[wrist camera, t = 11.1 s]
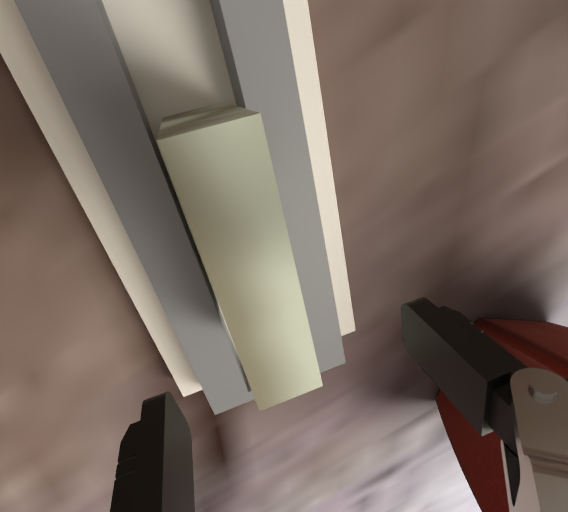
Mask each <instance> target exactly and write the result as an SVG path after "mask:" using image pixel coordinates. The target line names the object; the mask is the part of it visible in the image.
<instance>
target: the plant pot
mask: <svg viewBox="0 0 568 512" xmlns="http://www.w3.org/2000/svg"><path fill="white" fill-rule="evenodd" d="M474 325H476V326H477V327H478V328H480V329H481V330H482V331H483V333H484V334H485V333H486V334H487V335H488V336H490V337H491V338H492V339H493V340H495V341H496V342H497V343H498V344H499V345H501V346H502V347H503V348H504V349H506V350H507V351H508V352H509V353H511V354H512V355H513V356H514V357H516V358H517V359H518V360H519V361H521V362H522V363H523V364H524V365H526V366H527V367H528V368H539V369H544V370H548V371H550V372H553V373H555V374H557V375H559V376H560V377H562V378H564V379H566V378H568V327H565V326H561V325H557V324H553V323H550V322H541V321H524V320H507V319H490V318H483V319H480V320H478V321H477V322H476V323H475V324H474ZM436 403H437V406H438V409H439V412H440V415H441V418H442V421H443V424H444V426H445V429H446V432H447V435H448V437H449V440H450V442H451V445H452V448H453V450H454V452H455V455H456V457H457V459H458V462H459V464H460V467H461V469H462V471H463V473H464V475H465V478H466V480H467V482H468V484H469V486H470V488H471V490H472V493H473V495H474V497H475V499H476V501H477V503H478V505H479V507H480V509H481V511H482V512H509V503H508V496H507V488H506V481H505V473H504V466H503V458H502V451H501V438H500V437H499V436H498V435H497V434H496V433H495V432H494V431H492V432H490V433H488V434H486V435H484V436H481V435H480V434H479V433H478V432H477V431H476V430H475V429H474V427H473V426H472V425H471V424H470V423H469V422H468V420H467V419H466V418H465V417H464V416H463V415H462V414H461V412H460V411H459V410H458V409H457V408H456V407H455V405H454V404H453V403H452V402H451V401H450V400H449V399H448V397H447V396H446V395H445V394H444V393H443V392H442V390H440V392H439V394H438V395H437V398H436Z"/></svg>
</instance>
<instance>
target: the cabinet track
mask: <svg viewBox="0 0 568 512" xmlns="http://www.w3.org/2000/svg"><path fill="white" fill-rule="evenodd" d="M0 53H1V55H2V57H3V59H4V61H5V63H6V65H7V66H8V68H9V70H10V72H11V74H12V76H13V78H14V80H15V81H16V83H17V85H18V87H19V89H20V91H21V93H22V95H23V96H24V98H25V100H26V102H27V104H28V106H29V108H30V110H31V112H32V113H33V115H34V117H35V119H36V121H37V123H38V125H39V127H40V128H41V130H42V132H43V134H44V136H45V138H46V140H47V142H48V143H49V145H50V147H51V149H52V151H53V153H54V155H55V157H56V158H57V160H58V162H59V164H60V166H61V168H62V170H63V172H64V173H65V175H66V177H67V179H68V181H69V183H70V185H71V187H72V188H73V190H74V192H75V194H76V196H77V198H78V200H79V202H80V203H81V205H82V207H83V209H84V211H85V213H86V215H87V217H88V218H89V220H90V222H91V224H92V226H93V228H94V230H95V232H96V233H97V235H98V237H99V239H100V241H101V243H102V245H103V247H104V248H105V250H106V252H107V254H108V256H109V258H110V260H111V262H112V263H113V265H114V267H115V269H116V271H117V273H118V275H119V277H120V278H121V280H122V282H123V284H124V286H125V288H126V290H127V292H128V293H129V295H130V297H131V299H132V301H133V303H134V305H135V307H136V309H137V310H138V312H139V314H140V316H141V318H142V320H143V322H144V324H145V325H146V327H147V329H148V331H149V333H150V335H151V337H152V339H153V340H154V342H155V344H156V346H157V348H158V350H159V352H160V354H161V355H162V357H163V359H164V361H165V363H166V365H167V367H168V369H169V370H170V372H171V374H172V376H173V378H174V380H175V382H176V384H177V385H178V387H179V389H180V391H181V393H182V395H183V397H184V396H187V395H190V394H192V393H195V392H197V391H200V390H203V391H204V393H205V395H206V397H207V399H208V402H209V404H210V406H211V408H212V410H213V412H214V414H215V415H216V414H219V413H221V412H224V411H226V410H229V409H231V408H234V407H236V406H239V405H241V404H244V403H246V402H249V401H251V400H254V399H255V398H254V395H253V393H252V390H251V387H250V385H249V382H248V380H247V377H246V374H245V372H244V369H243V366H242V364H241V361H240V359H239V356H238V353H237V351H236V348H235V345H234V343H233V340H232V338H231V335H230V332H229V330H228V327H227V324H226V322H225V319H224V317H223V314H222V311H221V309H220V306H219V303H218V301H217V298H216V296H215V293H214V290H213V288H212V285H211V282H210V280H209V277H208V275H207V272H206V269H205V267H204V264H203V262H202V259H201V256H200V254H199V251H198V248H197V246H196V243H195V241H194V238H193V235H192V233H191V230H190V227H189V225H188V222H187V220H186V217H185V214H184V212H183V209H182V206H181V204H180V201H179V199H178V196H177V193H176V191H175V188H174V185H173V183H172V180H171V178H170V175H169V172H168V170H167V167H166V164H165V162H164V159H163V157H162V154H161V151H160V149H159V146H158V143H157V137H158V133H159V130H160V126H161V122H162V118H163V117H167V116H171V115H174V114H178V113H182V112H186V111H190V110H194V109H198V108H202V107H206V106H209V105H213V104H217V103H221V102H224V103H228V104H231V105H235V106H238V107H242V108H245V109H249V110H252V111H255V112H259V113H261V117H262V122H263V126H264V130H265V135H266V139H267V143H268V148H269V152H270V157H271V161H272V165H273V170H274V174H275V178H276V183H277V187H278V192H279V196H280V200H281V205H282V209H283V213H284V218H285V222H286V226H287V231H288V235H289V240H290V244H291V248H292V253H293V257H294V261H295V266H296V270H297V275H298V279H299V283H300V288H301V292H302V296H303V301H304V305H305V310H306V314H307V318H308V323H309V327H310V331H311V336H312V340H313V344H314V349H315V353H316V358H317V362H318V366H319V371H320V373H322V372H324V371H327V370H329V369H332V368H334V367H337V366H339V365H342V364H344V363H346V361H345V355H344V349H343V344H342V338H341V336H343V335H346V334H348V333H351V332H353V331H355V324H354V317H353V311H352V304H351V297H350V290H349V283H348V276H347V269H346V262H345V256H344V249H343V242H342V235H341V228H340V221H339V214H338V207H337V201H336V194H335V187H334V180H333V173H332V166H331V159H330V152H329V146H328V139H327V132H326V125H325V118H324V111H323V104H322V98H321V91H320V84H319V77H318V70H317V63H316V56H315V49H314V43H313V36H312V29H311V22H310V15H309V8H308V1H307V0H0Z"/></svg>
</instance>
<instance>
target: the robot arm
mask: <svg viewBox="0 0 568 512" xmlns="http://www.w3.org/2000/svg"><path fill="white" fill-rule="evenodd" d="M401 316H402V332H403V340H404V344H405V346H406V348H407V350H408V352H409V353H410V355H411V356H412V357H413V358H414V359H415V360H416V362H417V363H418V364H419V365H420V366H421V367H422V368H423V370H424V371H425V372H426V373H427V374H428V375H429V377H430V378H431V379H432V380H433V381H434V382H435V384H436V385H437V386H438V387H439V388H440V389H441V390H442V392H443V393H444V394H445V395H446V396H447V397H448V399H449V400H450V401H451V402H452V403H453V404H454V405H455V407H456V408H457V409H458V410H459V411H460V412H461V414H462V415H463V416H464V417H465V418H466V419H467V420H468V422H469V423H470V424H471V425H472V426H473V427H474V429H475V430H476V431H477V432H478V433H479V434H480V435H481V436H484V435H486V434H488V433H490V432H492V431H494V432H495V433H496V434H497V435H498V436H499V437H500V438H501V451H502V458H503V466H504V473H505V481H506V488H507V496H508V503H509V512H568V378H566V379H564V378H562V377H560V376H559V375H557V374H555V373H553V372H550V371H548V370H544V369H539V368H528V367H527V366H526V365H524V364H523V363H522V362H521V361H519V360H518V359H517V358H516V357H514V356H513V355H512V354H511V353H509V352H508V351H507V350H506V349H504V348H503V347H502V346H501V345H499V344H498V343H497V342H496V341H495V340H493V339H492V338H491V337H490V336H488V335H487V334H486V333H485V334H484V333H483V331H482V330H481V329H480V328H478V327H477V326H476V325H473V323H472V322H471V321H470V320H468V319H467V318H466V317H465V316H463V315H462V314H461V313H460V312H457V311H455V310H452V309H450V308H447V307H445V306H442V307H440V308H437V307H436V306H435V305H434V304H432V303H431V302H430V301H429V300H428V299H426V298H424V297H422V298H419V299H416V300H414V301H411V302H408V303H406V304H403V305H402V306H401ZM115 477H116V480H115V482H114V489H113V495H112V502H111V508H110V512H195V506H194V483H193V460H192V439H191V433H190V429H189V426H188V423H187V421H186V419H185V417H184V415H183V414H182V412H181V410H180V408H179V407H178V405H177V403H176V401H175V400H174V398H173V396H172V394H171V393H170V392H165V393H162V394H160V395H157V396H154V397H152V398H149V399H146V400H144V401H143V404H142V411H141V420H140V421H138V422H136V423H133V424H130V426H129V428H128V430H127V431H126V433H125V435H124V437H123V439H122V441H121V444H120V450H119V457H118V465H117V469H116V476H115Z"/></svg>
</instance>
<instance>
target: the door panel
mask: <svg viewBox="0 0 568 512" xmlns="http://www.w3.org/2000/svg"><path fill="white" fill-rule="evenodd" d="M157 143H158V146H159V149H160V151H161V154H162V157H163V159H164V162H165V164H166V167H167V170H168V172H169V175H170V178H171V180H172V183H173V185H174V188H175V191H176V193H177V196H178V199H179V201H180V204H181V206H182V209H183V212H184V214H185V217H186V220H187V222H188V225H189V227H190V230H191V233H192V235H193V238H194V241H195V243H196V246H197V248H198V251H199V254H200V256H201V259H202V262H203V264H204V267H205V269H206V272H207V275H208V277H209V280H210V282H211V285H212V288H213V290H214V293H215V296H216V298H217V301H218V303H219V306H220V309H221V311H222V314H223V317H224V319H225V322H226V324H227V327H228V330H229V332H230V335H231V338H232V340H233V343H234V345H235V348H236V351H237V353H238V356H239V359H240V361H241V364H242V366H243V369H244V372H245V374H246V377H247V380H248V382H249V385H250V387H251V390H252V393H253V395H254V398H255V401H256V403H257V406H258V408H259V411H262V410H265V409H267V408H269V407H272V406H274V405H277V404H279V403H282V402H284V401H287V400H289V399H292V398H294V397H297V396H299V395H302V394H304V393H307V392H309V391H312V390H314V389H316V388H319V387H321V386H323V384H322V379H321V375H320V371H319V366H318V362H317V358H316V353H315V349H314V344H313V340H312V336H311V331H310V327H309V323H308V318H307V314H306V310H305V305H304V301H303V296H302V292H301V288H300V283H299V279H298V275H297V270H296V266H295V261H294V257H293V253H292V248H291V244H290V240H289V235H288V231H287V226H286V222H285V218H284V213H283V209H282V205H281V200H280V196H279V192H278V187H277V183H276V178H275V174H274V170H273V165H272V161H271V157H270V152H269V148H268V143H267V139H266V135H265V130H264V126H263V122H262V117H261V113H259V112H255V111H252V110H249V109H245V108H242V107H238V106H235V105H231V104H228V103H224V102H221V103H217V104H213V105H209V106H206V107H202V108H198V109H194V110H190V111H186V112H182V113H178V114H174V115H171V116H167V117H163V118H162V122H161V126H160V130H159V133H158V137H157Z"/></svg>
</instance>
